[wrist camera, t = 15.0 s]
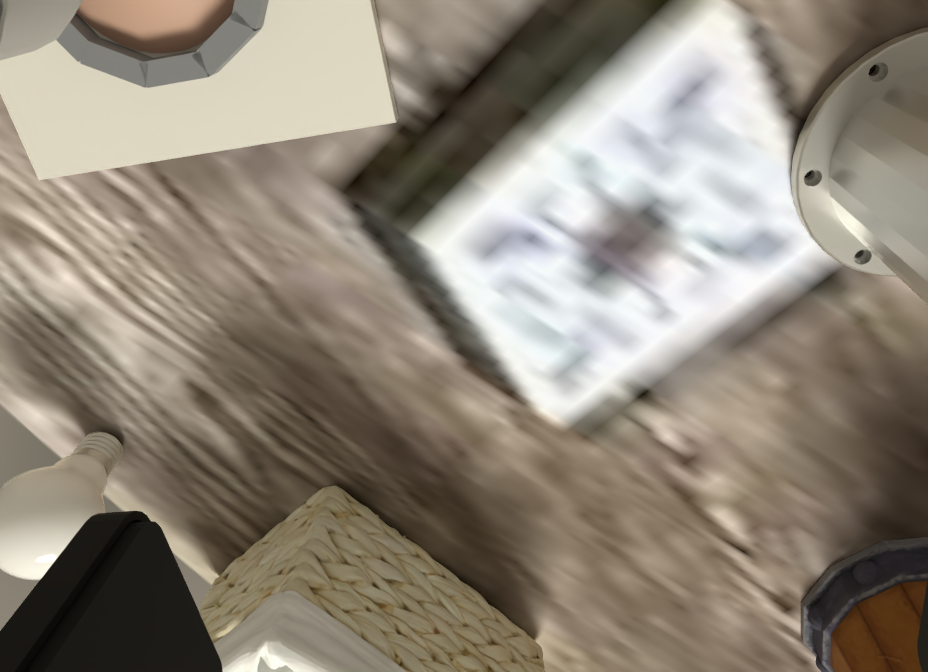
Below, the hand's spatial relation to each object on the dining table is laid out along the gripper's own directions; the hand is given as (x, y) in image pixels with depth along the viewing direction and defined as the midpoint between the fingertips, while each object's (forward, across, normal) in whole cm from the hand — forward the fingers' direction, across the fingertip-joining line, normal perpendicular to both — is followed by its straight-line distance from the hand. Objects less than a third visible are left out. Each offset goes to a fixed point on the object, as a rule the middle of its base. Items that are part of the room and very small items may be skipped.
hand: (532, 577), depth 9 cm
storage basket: (+33, +16, +36) cm, 52 cm away
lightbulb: (+32, +32, +19) cm, 49 cm away
